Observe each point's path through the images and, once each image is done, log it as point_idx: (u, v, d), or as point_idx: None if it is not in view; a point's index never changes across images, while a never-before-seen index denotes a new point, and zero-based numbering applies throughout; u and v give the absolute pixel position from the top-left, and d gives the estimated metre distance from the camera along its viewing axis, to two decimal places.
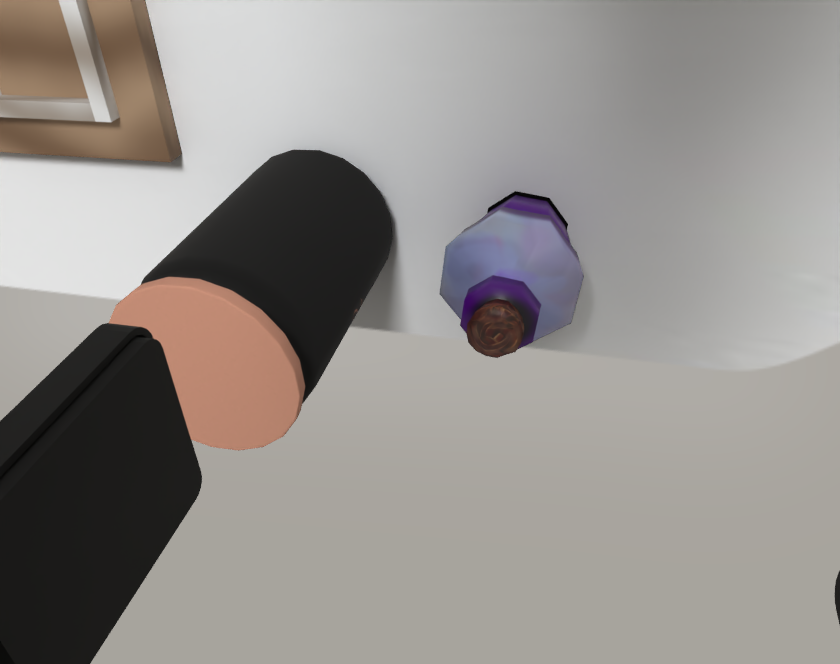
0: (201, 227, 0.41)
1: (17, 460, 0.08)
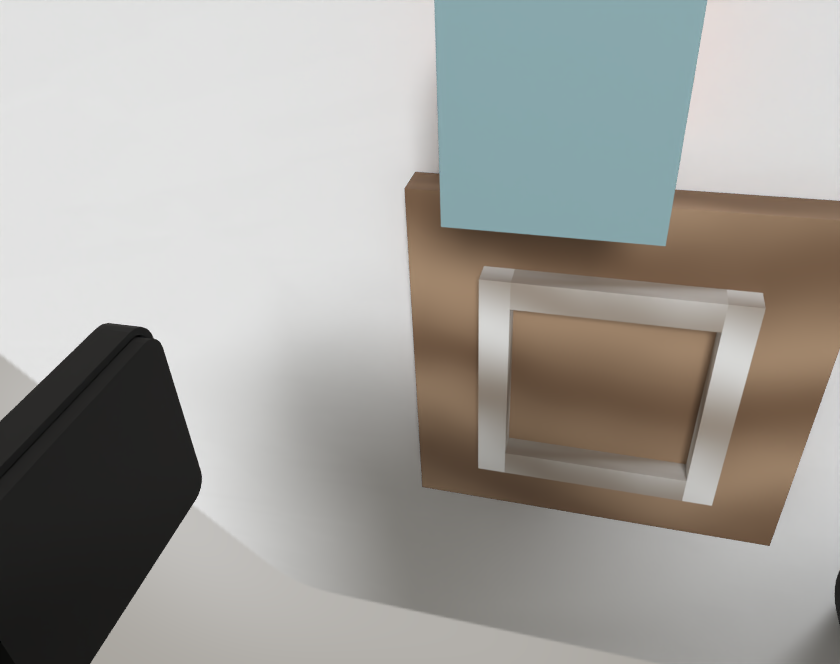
0: None
1: (17, 460, 0.08)
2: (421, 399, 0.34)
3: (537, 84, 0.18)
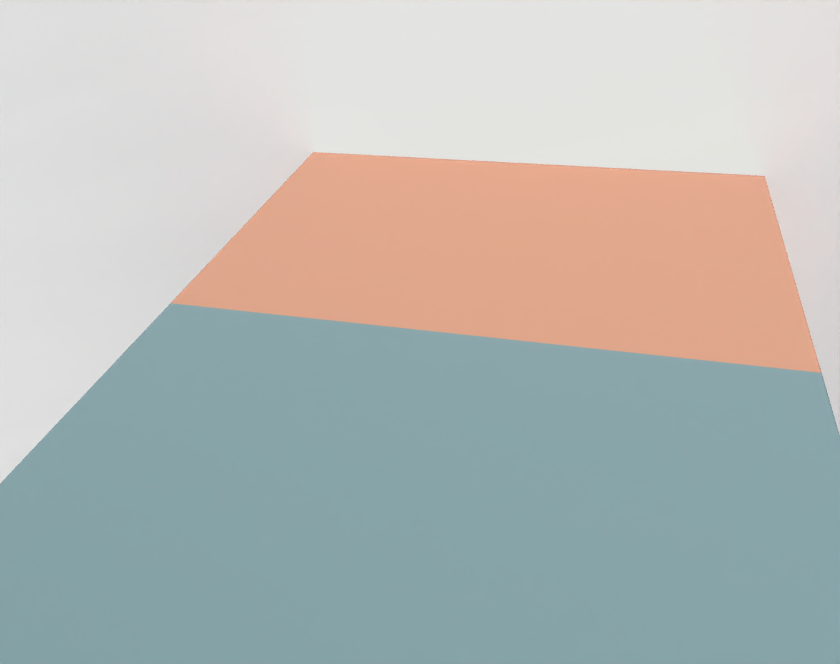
0: None
1: None
2: None
3: None
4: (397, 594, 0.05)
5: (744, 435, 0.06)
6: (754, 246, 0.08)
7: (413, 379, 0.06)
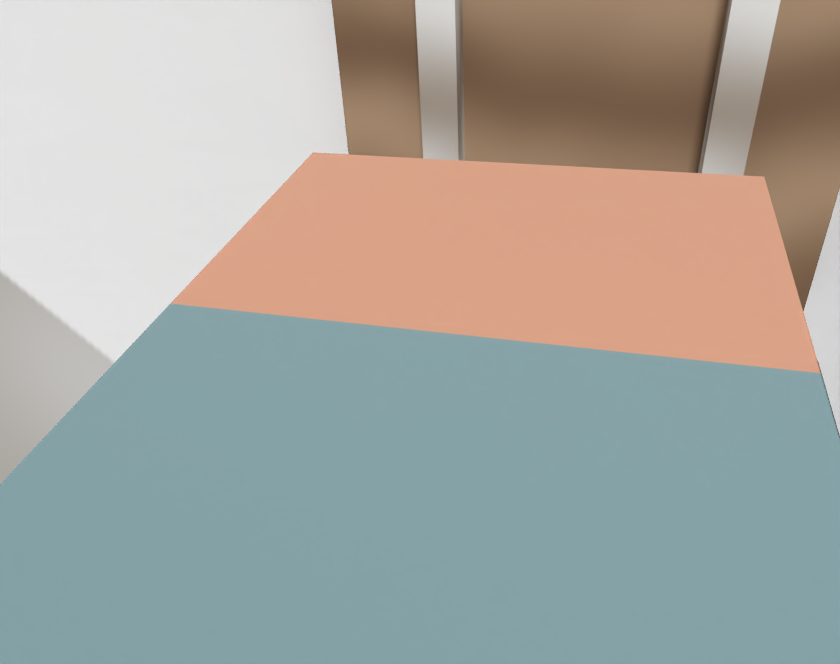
0: None
1: None
2: (352, 137, 0.26)
3: None
4: (397, 594, 0.05)
5: (744, 436, 0.06)
6: (754, 246, 0.08)
7: (413, 379, 0.06)
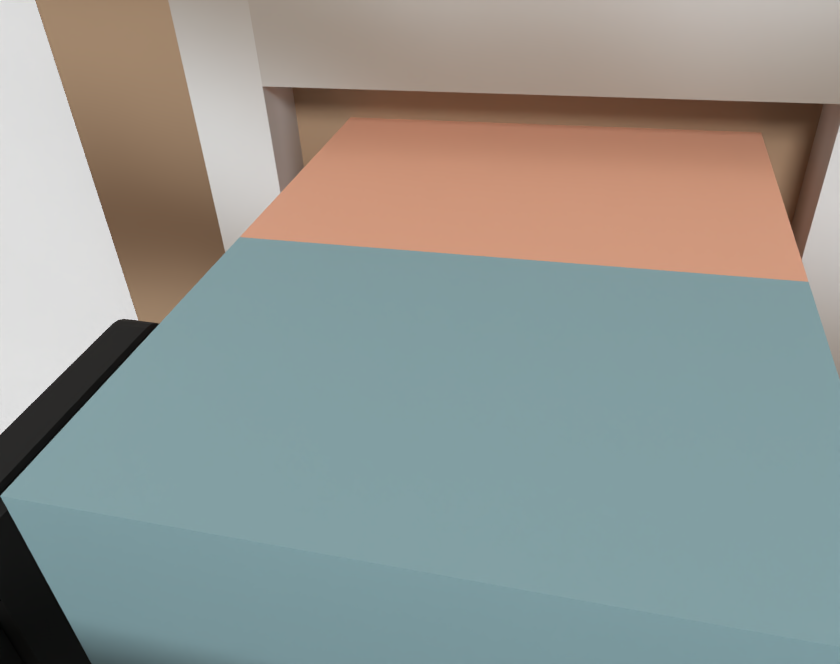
0: None
1: (37, 454, 0.08)
2: None
3: None
4: (459, 438, 0.06)
5: (742, 327, 0.07)
6: (751, 187, 0.09)
7: (458, 290, 0.07)
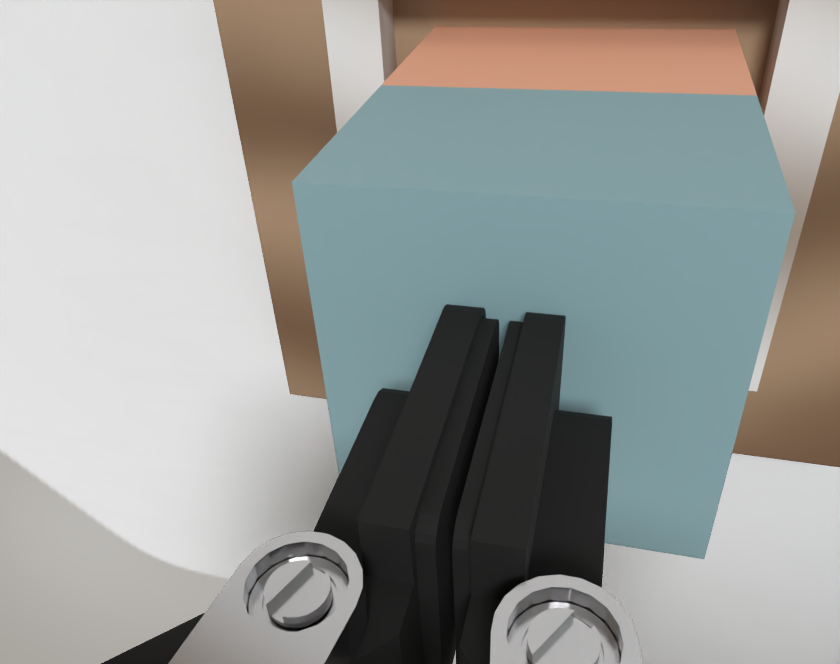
0: None
1: (443, 436, 0.08)
2: (265, 231, 0.20)
3: None
4: (547, 157, 0.10)
5: (713, 114, 0.11)
6: (725, 55, 0.13)
7: (535, 103, 0.12)
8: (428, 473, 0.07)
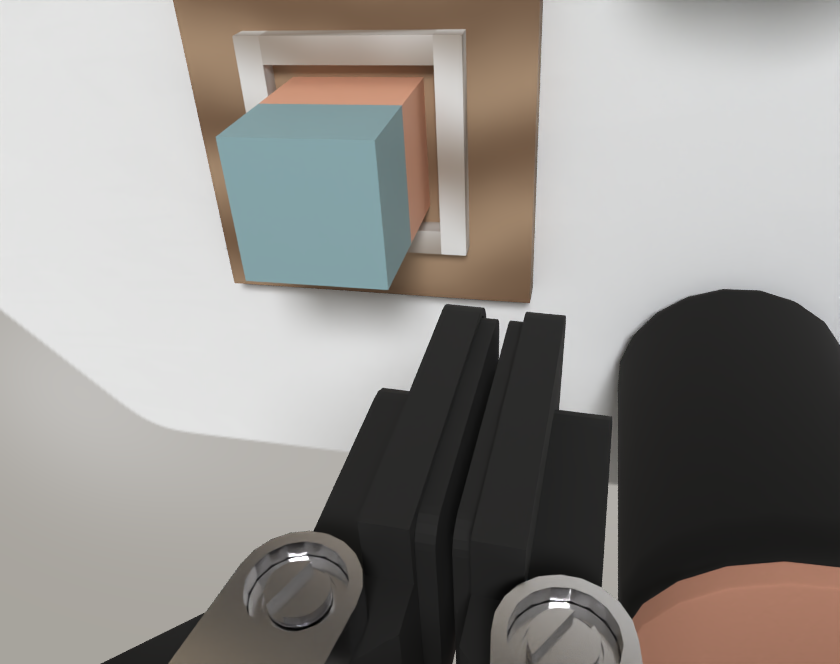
0: (716, 440, 0.27)
1: (444, 437, 0.08)
2: (216, 183, 0.37)
3: (288, 189, 0.28)
4: (308, 127, 0.27)
5: (379, 112, 0.28)
6: (406, 89, 0.31)
7: (315, 109, 0.29)
8: (428, 473, 0.07)
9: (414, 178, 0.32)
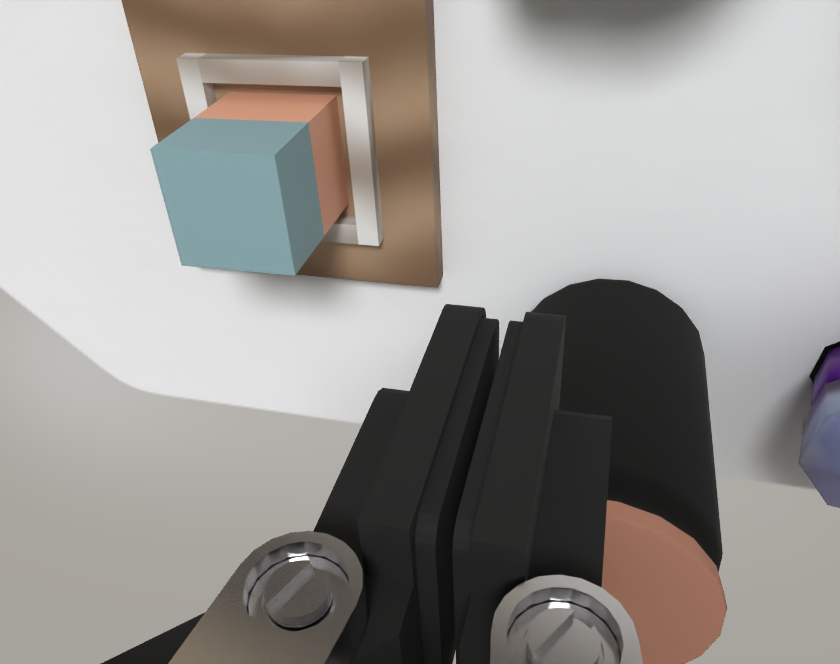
0: None
1: (444, 436, 0.08)
2: None
3: (210, 192, 0.34)
4: (226, 141, 0.34)
5: (287, 128, 0.35)
6: (318, 107, 0.37)
7: (237, 125, 0.35)
8: (428, 473, 0.07)
9: (327, 181, 0.38)
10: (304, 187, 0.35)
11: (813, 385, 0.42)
